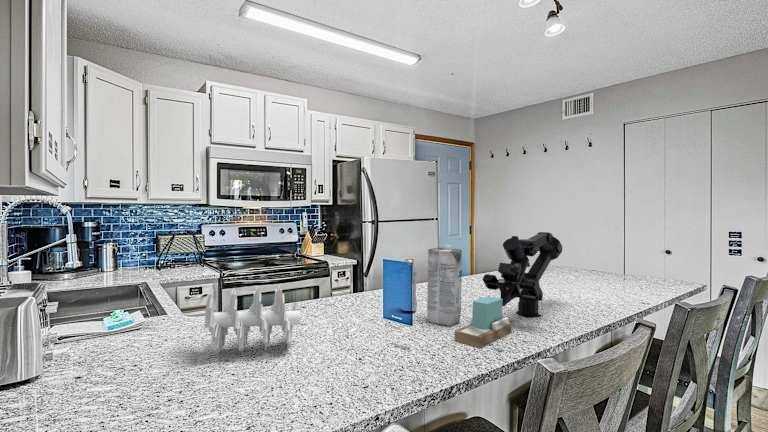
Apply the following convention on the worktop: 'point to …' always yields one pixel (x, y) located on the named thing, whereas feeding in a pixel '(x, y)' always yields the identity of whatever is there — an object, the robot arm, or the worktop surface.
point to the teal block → (486, 312)
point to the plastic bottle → (414, 284)
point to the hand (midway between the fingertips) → (502, 305)
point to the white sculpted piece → (250, 319)
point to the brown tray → (483, 333)
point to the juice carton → (444, 285)
